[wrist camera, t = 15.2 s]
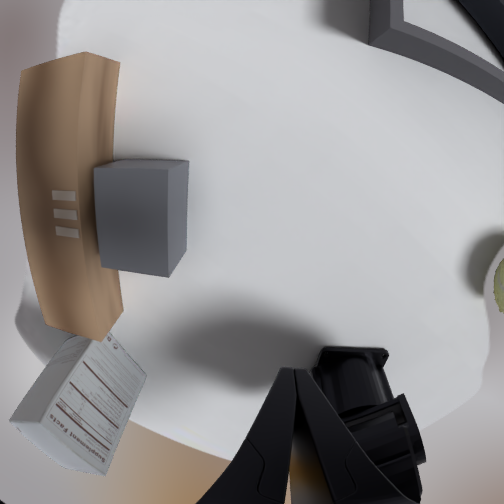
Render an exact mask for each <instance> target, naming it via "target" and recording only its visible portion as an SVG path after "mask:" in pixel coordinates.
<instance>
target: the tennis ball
mask: <svg viewBox="0 0 504 504" xmlns="http://www.w3.org/2000/svg"><path fill="white" fill-rule="evenodd" d="M495 272H496V274H495V277H494V294H495V300H496V303H497V305H498V307H499V311H500V312H503V313H504V259H503V260H502V261H501V262H500V264H499V266H498V268H497V269H496V271H495Z"/></svg>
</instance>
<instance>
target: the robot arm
mask: <svg viewBox="0 0 504 504" xmlns="http://www.w3.org/2000/svg"><path fill="white" fill-rule="evenodd" d="M325 353H327V354H325ZM382 355H383V356H382ZM388 357H389V353H388V351H387V350H377V349H347V348H328V347H327V348H323V349H322V350H321V351H320V354H319V357H318V360H317V363H316V366H315V367H313V368H312V369H311V372H310V374H309V372H308V371H307V369H305V368H294V369H293V368H292V367H281V368H280V370H279V372H278V374H277V376H276V379H275V381H274V383H273V385H272V387H271V389H270V391H269V393H268V395H267V397H266V399H265V401H264V403H263V405H262V407H261V409H260V411H259V413H258V415H257V417H256V419H255V421H254V423H253V425H252V427H251V428H250V430H249V432H248V434H247V436H246V438H245V440H244V441H243V443H242V445H241V447H240V449H239V450H238V452H237V454H236V455H235V457H234V458H233V460H232V461H231V463H230V464H229V466H228V467H227V468H226V469H225V471H224V472H223V473H222V475H221V476H220V477H219V478H218V479H217V480H216V482H215V483H214V484H213V485H212V486H211V487H210V489H209V490H208V491H207V492H206V493H205V494H204V495H203V496H202V498H201V499H200V500H199V501H198V502H197V503H196V504H284V503H285V496H286V489H287V482H288V474H289V475H290V491H291V504H420V501H421V494H422V485H421V480H420V476H419V471H418V468H417V465H420V464H422V463H425V462H426V455H425V451H424V446H423V443H422V439H421V436H420V432H419V429H418V427H417V424H416V421H415V419H414V417H413V414H412V412H411V409H410V407H409V405H408V402H407V400H406V397H405V395H404V393H403V394H401V395H398V396H397V397H396V398H394V397H393V394H392V391H391V388H390V386H389V383H388V380H387V377H386V374H385V372H384V369H383V367H384V365H385V363H386V361H387V359H388ZM0 504H5V503H4V502H3V501H1V500H0Z"/></svg>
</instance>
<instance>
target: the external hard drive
mask: <svg viewBox="0 0 504 504" xmlns="http://www.w3.org/2000/svg"><path fill="white" fill-rule="evenodd" d="M459 1H460V3H461V4H462V5H463V6H464V7H465V8H466V10H467V11H468V12H469V13H470V14H471V16H472V17H473V18H474V19H475V20H476V21H477V23H478V24H479V25H480V27H481V28H482V29H483V30H484V32H485V33H486V34H487V36H488V37H489V38H490V40H491V41H492V42H493V44H494V45H495V47H496V48H497V49H498V50H499V52H500V53H501V55H502V56H503V58H504V0H459Z"/></svg>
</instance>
